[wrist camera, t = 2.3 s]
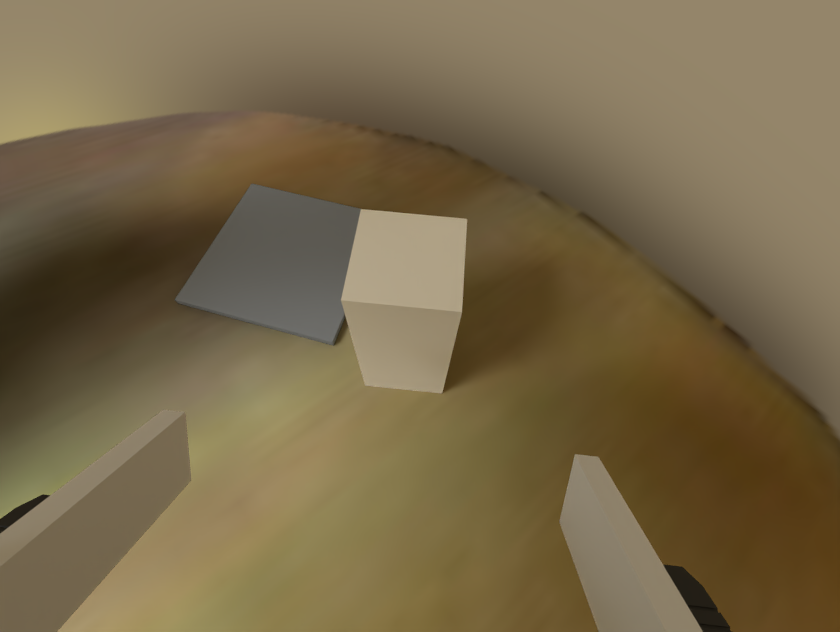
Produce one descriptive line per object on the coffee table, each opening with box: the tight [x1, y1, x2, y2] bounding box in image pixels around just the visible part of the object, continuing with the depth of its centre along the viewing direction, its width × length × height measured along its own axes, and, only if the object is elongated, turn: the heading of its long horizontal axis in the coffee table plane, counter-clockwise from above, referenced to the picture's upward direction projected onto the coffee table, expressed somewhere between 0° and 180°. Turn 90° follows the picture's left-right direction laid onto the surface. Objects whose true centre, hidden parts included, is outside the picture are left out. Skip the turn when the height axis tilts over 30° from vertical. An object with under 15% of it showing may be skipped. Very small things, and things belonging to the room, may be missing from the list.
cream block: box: [341, 209, 467, 393], centre depth 27 cm, size 6×6×13 cm
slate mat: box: [175, 184, 361, 346], centre depth 37 cm, size 14×14×1 cm
